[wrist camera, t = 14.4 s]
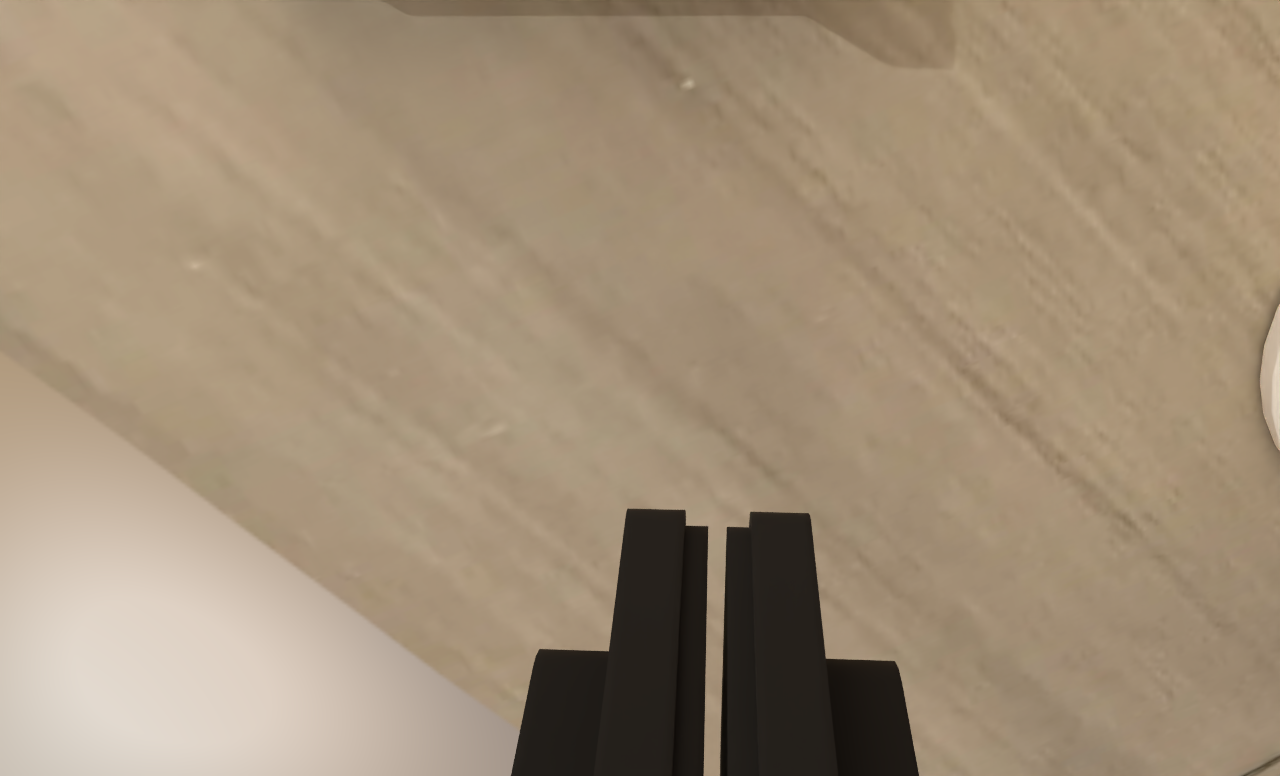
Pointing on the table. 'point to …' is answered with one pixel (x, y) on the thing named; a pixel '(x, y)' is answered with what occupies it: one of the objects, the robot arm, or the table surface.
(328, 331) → the table surface
